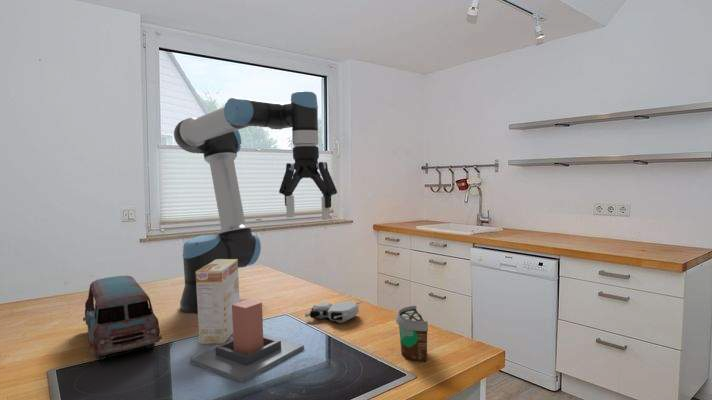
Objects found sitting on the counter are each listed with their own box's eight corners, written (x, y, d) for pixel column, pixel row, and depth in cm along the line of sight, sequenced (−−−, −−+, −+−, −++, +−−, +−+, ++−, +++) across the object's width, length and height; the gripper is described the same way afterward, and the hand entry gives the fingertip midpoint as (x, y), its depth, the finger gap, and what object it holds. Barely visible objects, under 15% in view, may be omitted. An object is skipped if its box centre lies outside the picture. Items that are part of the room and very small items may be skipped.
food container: (392, 344, 108) (391, 306, 108) (416, 343, 109) (415, 304, 108) (401, 366, 96) (401, 323, 95) (428, 365, 97) (428, 322, 96)
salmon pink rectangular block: (233, 353, 103) (231, 304, 102) (249, 345, 107) (247, 299, 106) (248, 357, 100) (245, 308, 99) (263, 350, 104) (261, 302, 103)
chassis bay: (190, 362, 100) (189, 350, 100) (254, 334, 117) (253, 324, 117) (242, 382, 90) (241, 369, 90) (304, 348, 107) (303, 337, 107)
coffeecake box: (218, 323, 126) (215, 258, 125) (241, 323, 126) (239, 258, 124) (197, 344, 111) (194, 271, 110) (224, 344, 111) (221, 270, 110)
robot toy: (302, 325, 126) (349, 327, 120) (301, 310, 125) (347, 312, 120) (321, 312, 137) (364, 313, 131) (320, 298, 137) (363, 299, 131)
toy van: (92, 371, 97) (87, 307, 96) (83, 330, 123) (79, 279, 122) (165, 352, 106) (162, 294, 105) (142, 318, 132) (140, 271, 131)
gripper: (347, 144, 120) (349, 218, 121) (283, 148, 134) (285, 215, 135) (331, 143, 114) (333, 221, 115) (265, 147, 128) (268, 217, 129)
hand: (307, 218), depth 125 cm, fingers open, 13 cm apart
